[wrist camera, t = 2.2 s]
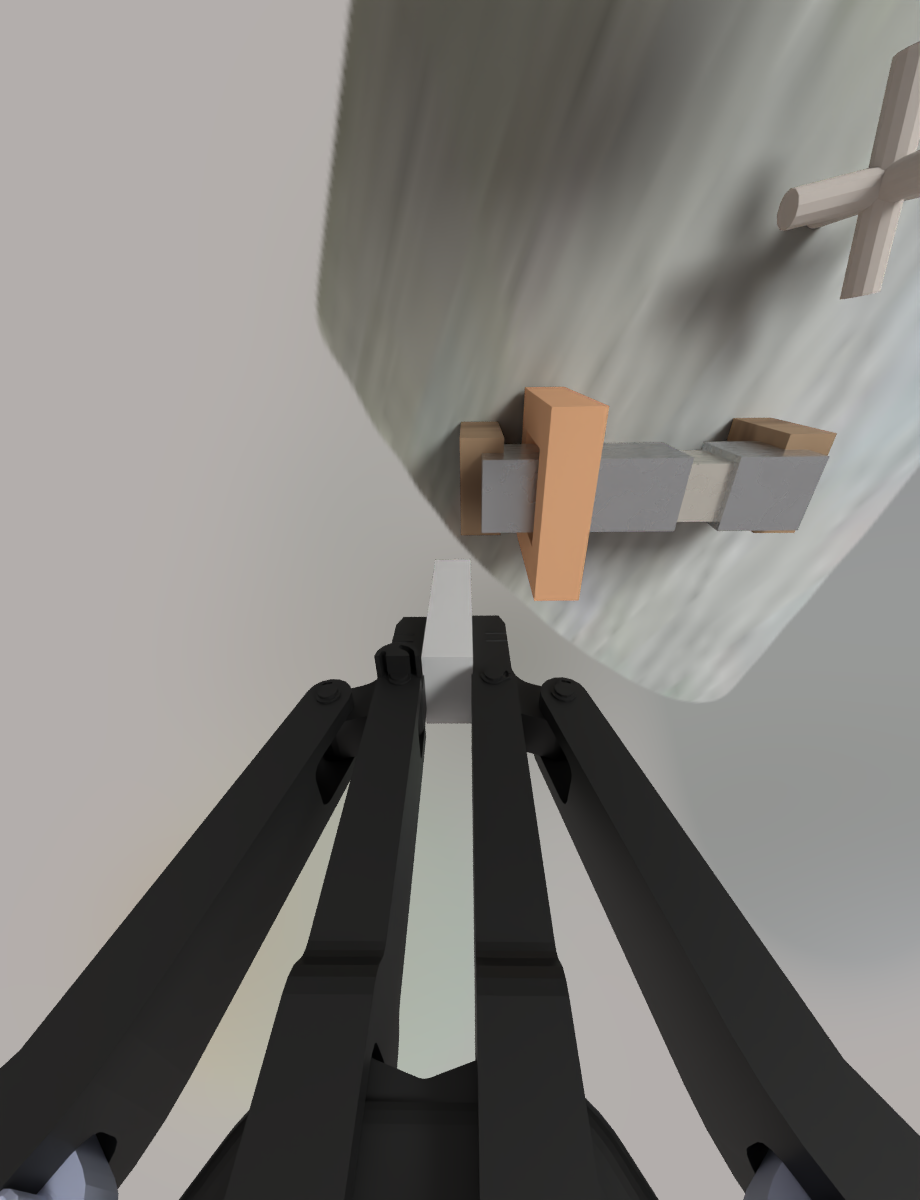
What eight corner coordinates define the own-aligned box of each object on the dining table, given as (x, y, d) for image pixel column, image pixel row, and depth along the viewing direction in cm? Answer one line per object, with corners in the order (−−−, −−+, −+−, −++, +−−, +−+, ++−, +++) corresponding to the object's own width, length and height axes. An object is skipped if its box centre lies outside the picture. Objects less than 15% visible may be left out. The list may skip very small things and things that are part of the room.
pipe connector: (728, 319, 30) (831, 309, 22) (749, 124, 25) (895, 11, 17) (879, 284, 29) (1051, 259, 21) (934, 72, 24) (1191, -78, 15)
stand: (460, 421, 34) (459, 438, 28) (771, 417, 34) (836, 433, 28) (462, 505, 38) (461, 535, 32) (741, 502, 37) (794, 532, 31)
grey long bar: (480, 444, 31) (482, 460, 27) (779, 440, 31) (829, 456, 26) (479, 509, 34) (481, 532, 30) (755, 506, 33) (797, 530, 29)
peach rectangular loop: (525, 387, 32) (551, 406, 22) (563, 386, 32) (609, 406, 22) (516, 532, 39) (534, 600, 28) (548, 532, 38) (578, 600, 28)
